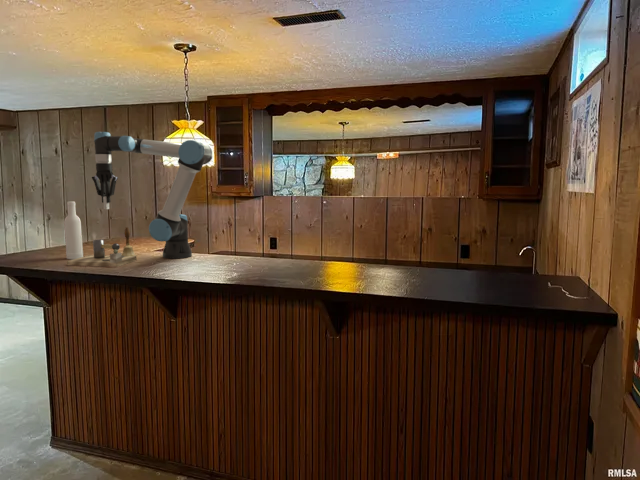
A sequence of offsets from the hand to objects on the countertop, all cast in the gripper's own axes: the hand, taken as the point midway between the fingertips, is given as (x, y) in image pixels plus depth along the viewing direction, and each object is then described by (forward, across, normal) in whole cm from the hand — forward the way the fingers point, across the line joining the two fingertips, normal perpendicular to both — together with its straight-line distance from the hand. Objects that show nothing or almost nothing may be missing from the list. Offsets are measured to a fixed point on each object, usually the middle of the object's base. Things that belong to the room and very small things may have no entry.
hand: (106, 209), depth 234 cm
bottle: (+27, +19, 0) cm, 33 cm away
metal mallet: (+24, -4, +9) cm, 26 cm away
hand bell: (+27, -6, -9) cm, 28 cm away
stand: (+26, -2, +10) cm, 28 cm away
